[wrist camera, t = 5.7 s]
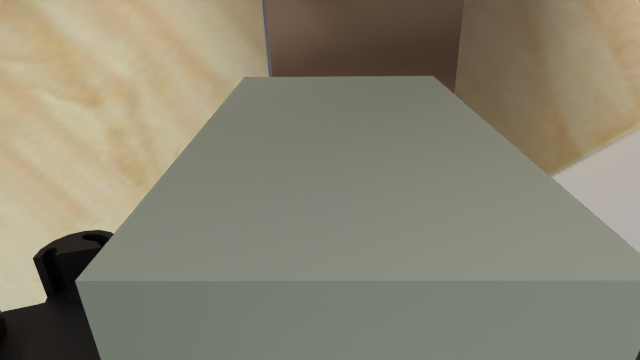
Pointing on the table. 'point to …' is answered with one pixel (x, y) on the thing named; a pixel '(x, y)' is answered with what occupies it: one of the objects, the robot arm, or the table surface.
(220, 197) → the sage block
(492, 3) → the table surface
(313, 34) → the walnut block
